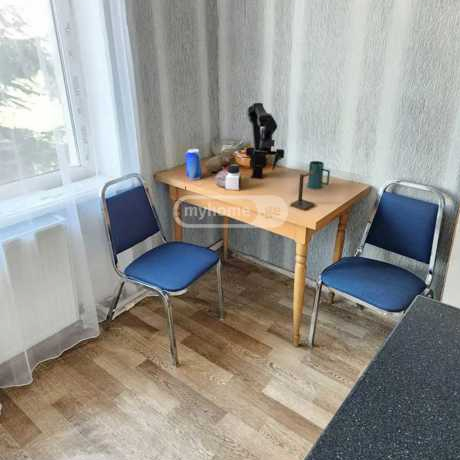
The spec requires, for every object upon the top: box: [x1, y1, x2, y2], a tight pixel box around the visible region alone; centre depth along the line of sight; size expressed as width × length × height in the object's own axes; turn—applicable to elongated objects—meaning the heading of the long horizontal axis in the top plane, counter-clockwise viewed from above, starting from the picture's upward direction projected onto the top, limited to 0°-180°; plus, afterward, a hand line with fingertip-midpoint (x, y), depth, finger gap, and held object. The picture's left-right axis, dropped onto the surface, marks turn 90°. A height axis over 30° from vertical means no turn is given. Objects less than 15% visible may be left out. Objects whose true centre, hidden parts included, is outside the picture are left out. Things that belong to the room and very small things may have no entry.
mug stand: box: [290, 170, 316, 212], centre depth 186 cm, size 8×16×14 cm, turn 135°
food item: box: [215, 166, 228, 189], centre depth 211 cm, size 14×8×10 cm, turn 156°
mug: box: [307, 160, 331, 190], centre depth 206 cm, size 12×7×13 cm, turn 45°
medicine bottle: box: [225, 164, 242, 191], centre depth 206 cm, size 7×7×12 cm
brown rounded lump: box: [204, 154, 230, 173], centre depth 236 cm, size 13×8×20 cm
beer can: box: [185, 148, 203, 181], centre depth 219 cm, size 8×8×16 cm
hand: (263, 169), depth 192 cm, fingers open, 9 cm apart
